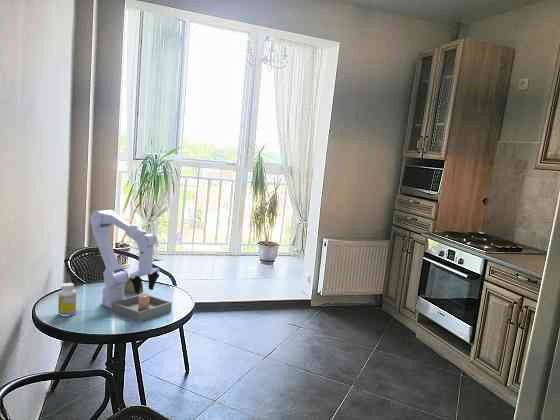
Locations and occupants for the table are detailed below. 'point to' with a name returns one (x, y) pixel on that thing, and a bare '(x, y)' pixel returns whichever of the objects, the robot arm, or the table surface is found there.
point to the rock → (131, 287)
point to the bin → (131, 311)
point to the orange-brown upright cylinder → (143, 302)
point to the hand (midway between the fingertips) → (144, 291)
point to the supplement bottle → (67, 299)
